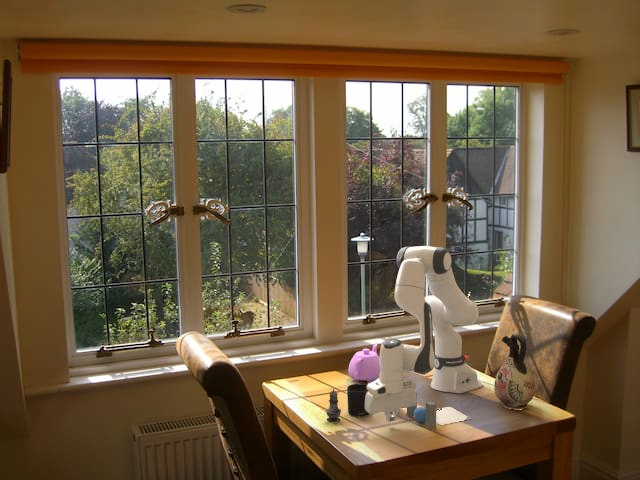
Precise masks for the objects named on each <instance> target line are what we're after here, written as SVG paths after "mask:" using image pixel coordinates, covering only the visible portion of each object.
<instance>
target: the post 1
mask: <svg viewBox="0 0 640 480" xmlns="http://www.w3.org/2000/svg"><path fill="white" fill-rule="evenodd" d="M416 398H417V399H418V392H416ZM417 408H418V402H417V403H416V405H415V406H412V407H407V408H406V415H407V416H408V417H410V418H412V417H414V411H415V410H416V409H417Z"/></svg>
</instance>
